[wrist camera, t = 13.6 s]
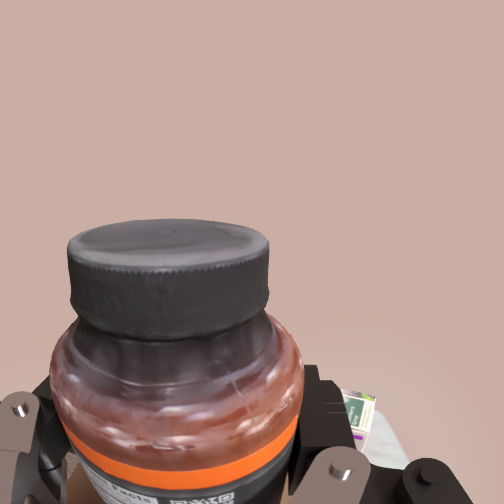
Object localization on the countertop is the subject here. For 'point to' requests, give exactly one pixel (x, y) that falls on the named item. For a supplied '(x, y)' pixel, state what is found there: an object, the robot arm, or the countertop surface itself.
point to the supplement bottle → (176, 365)
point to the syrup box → (359, 415)
